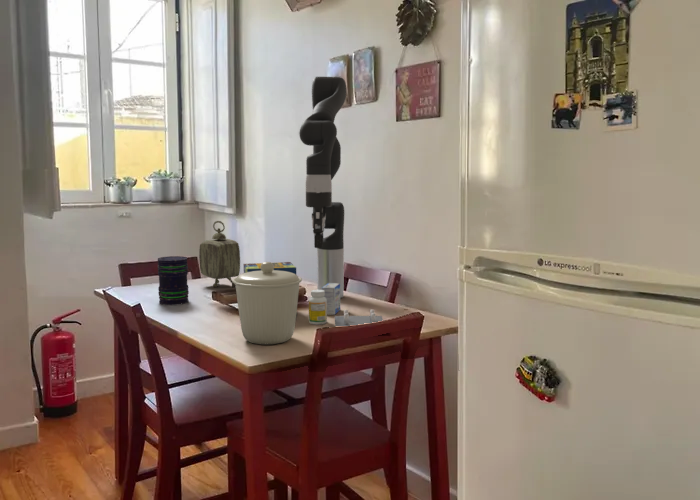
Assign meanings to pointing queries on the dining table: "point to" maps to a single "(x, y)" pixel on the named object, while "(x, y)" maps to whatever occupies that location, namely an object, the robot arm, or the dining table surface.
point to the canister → (267, 304)
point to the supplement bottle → (317, 307)
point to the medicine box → (332, 297)
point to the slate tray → (356, 319)
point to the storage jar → (173, 280)
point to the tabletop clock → (219, 257)
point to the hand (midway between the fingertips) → (319, 246)
